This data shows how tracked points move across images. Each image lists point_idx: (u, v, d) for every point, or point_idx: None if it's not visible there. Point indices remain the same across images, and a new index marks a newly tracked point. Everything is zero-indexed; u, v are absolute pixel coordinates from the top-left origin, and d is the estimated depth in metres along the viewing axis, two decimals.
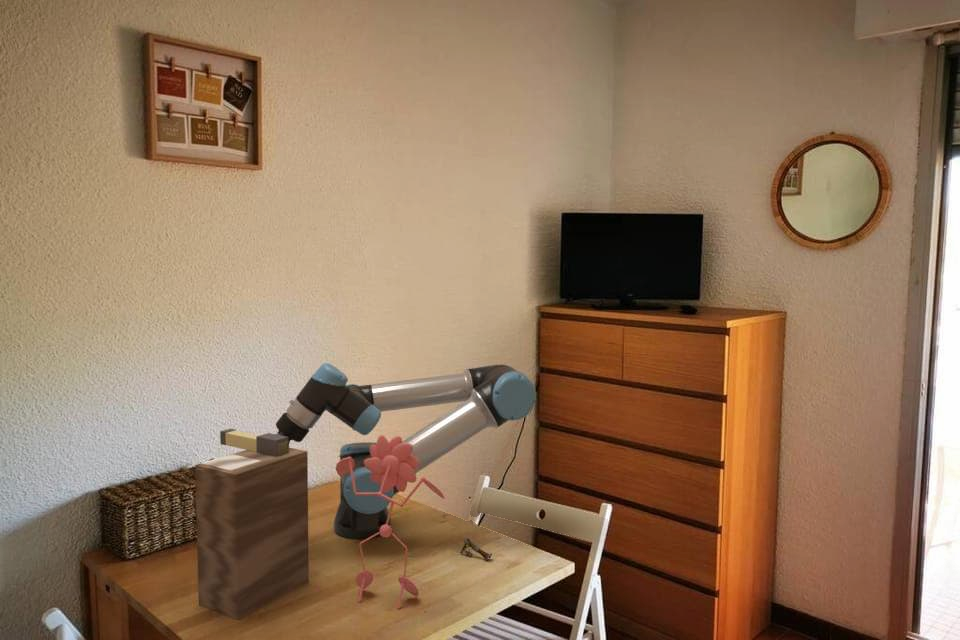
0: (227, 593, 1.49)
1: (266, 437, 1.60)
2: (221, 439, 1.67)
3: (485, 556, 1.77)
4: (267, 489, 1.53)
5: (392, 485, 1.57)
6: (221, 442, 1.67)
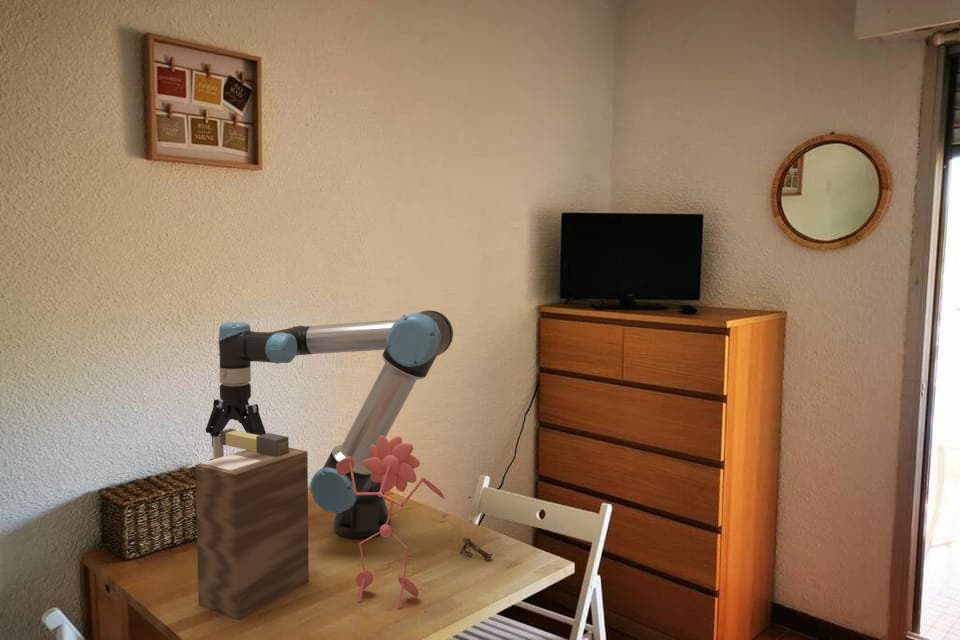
0: (227, 593, 1.49)
1: (266, 437, 1.60)
2: (221, 439, 1.67)
3: (485, 556, 1.77)
4: (267, 489, 1.53)
5: (392, 485, 1.57)
6: (221, 442, 1.67)
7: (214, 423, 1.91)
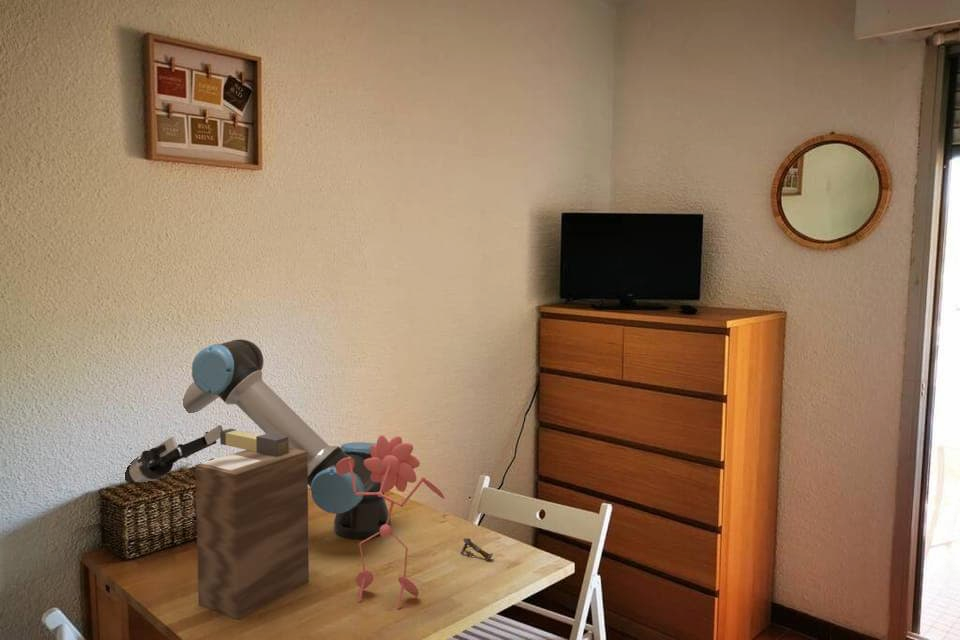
0: (227, 593, 1.49)
1: (266, 437, 1.60)
2: (221, 439, 1.67)
3: (486, 556, 1.77)
4: (267, 489, 1.53)
5: (392, 485, 1.57)
6: (221, 442, 1.67)
7: None
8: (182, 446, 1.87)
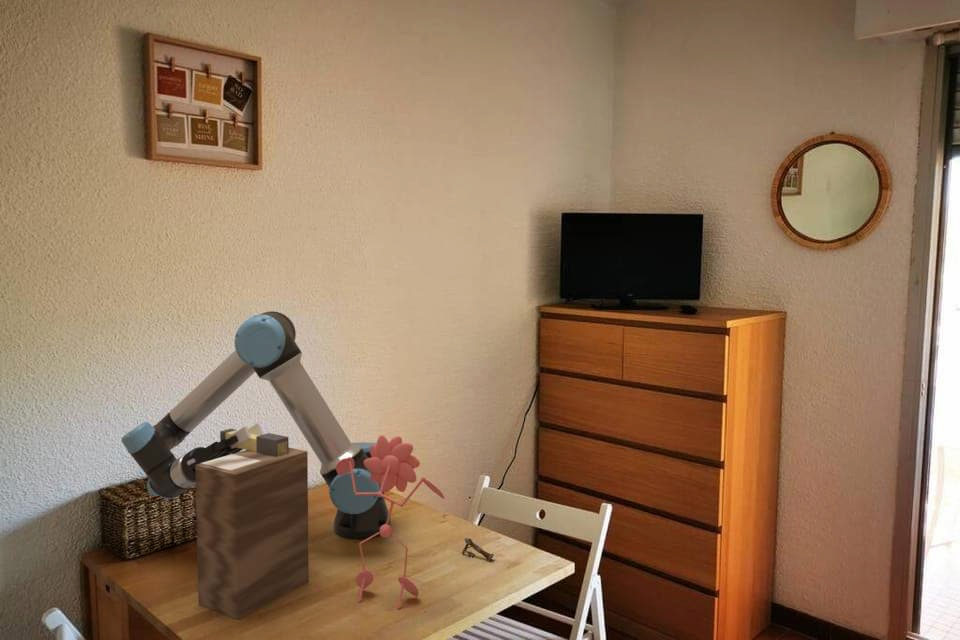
0: (227, 593, 1.49)
1: (266, 437, 1.59)
2: (221, 439, 1.67)
3: (487, 556, 1.77)
4: (267, 489, 1.53)
5: (392, 485, 1.57)
6: None
7: None
8: None
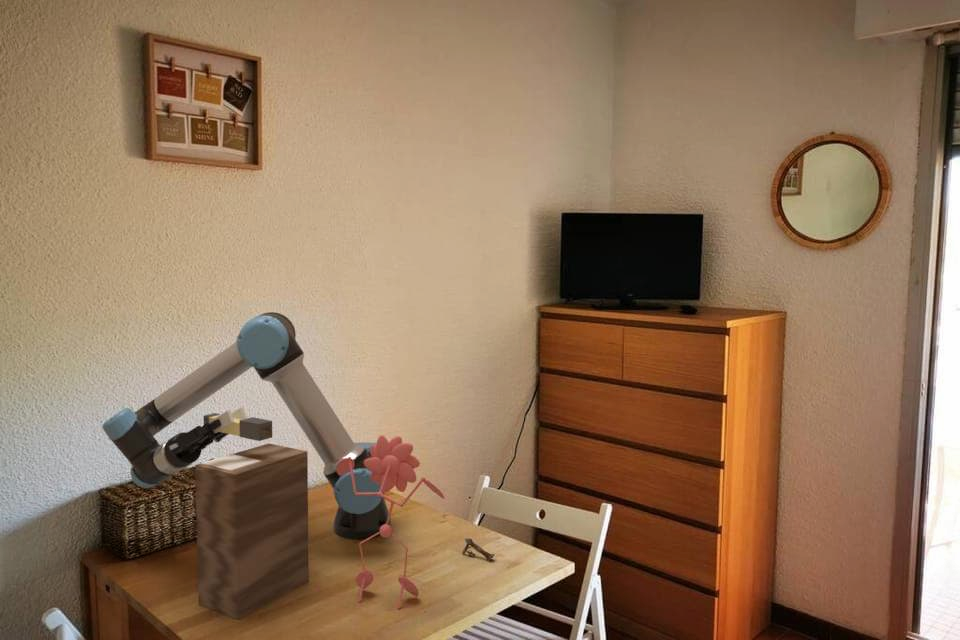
0: (227, 593, 1.49)
1: (249, 421, 1.56)
2: (204, 423, 1.63)
3: (487, 556, 1.77)
4: (267, 489, 1.53)
5: (392, 485, 1.57)
6: None
7: None
8: None
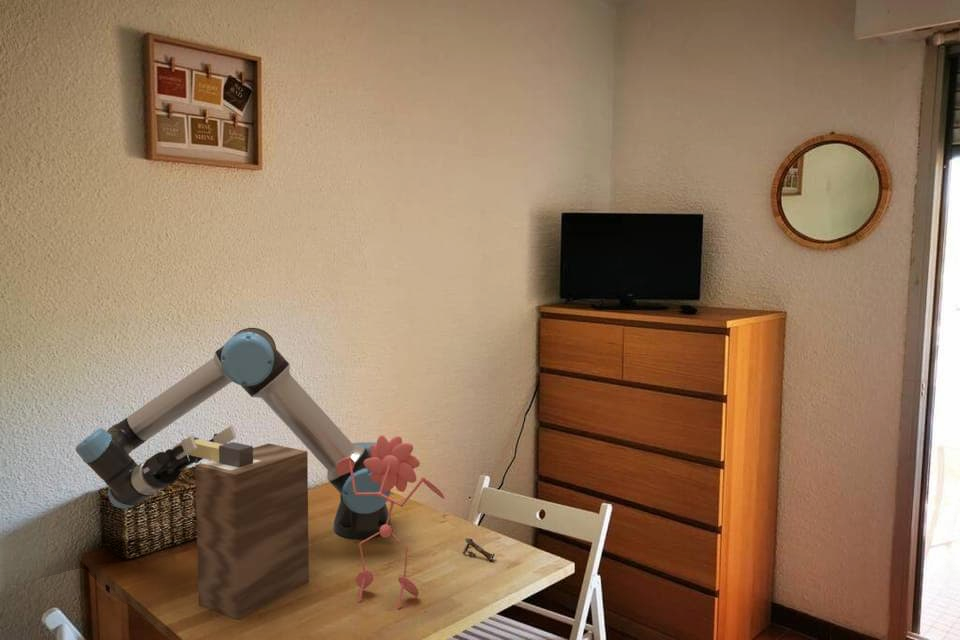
0: (227, 593, 1.49)
1: (229, 446, 1.51)
2: None
3: (488, 556, 1.77)
4: (267, 489, 1.53)
5: (392, 485, 1.57)
6: None
7: None
8: None
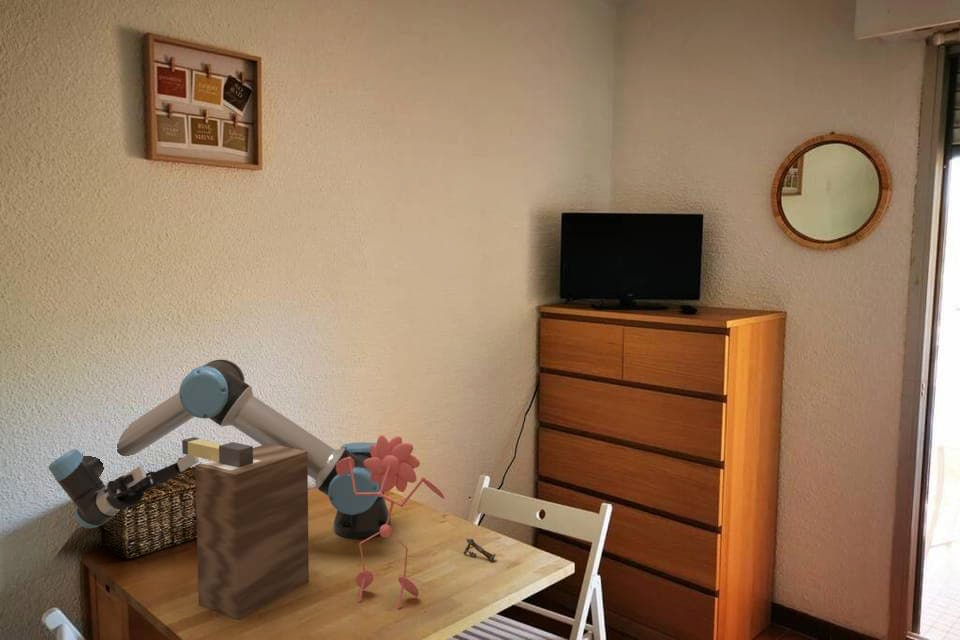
0: (227, 593, 1.49)
1: (229, 446, 1.51)
2: (183, 448, 1.58)
3: (489, 557, 1.77)
4: (267, 489, 1.53)
5: (392, 485, 1.57)
6: (183, 451, 1.58)
7: None
8: (153, 474, 1.73)
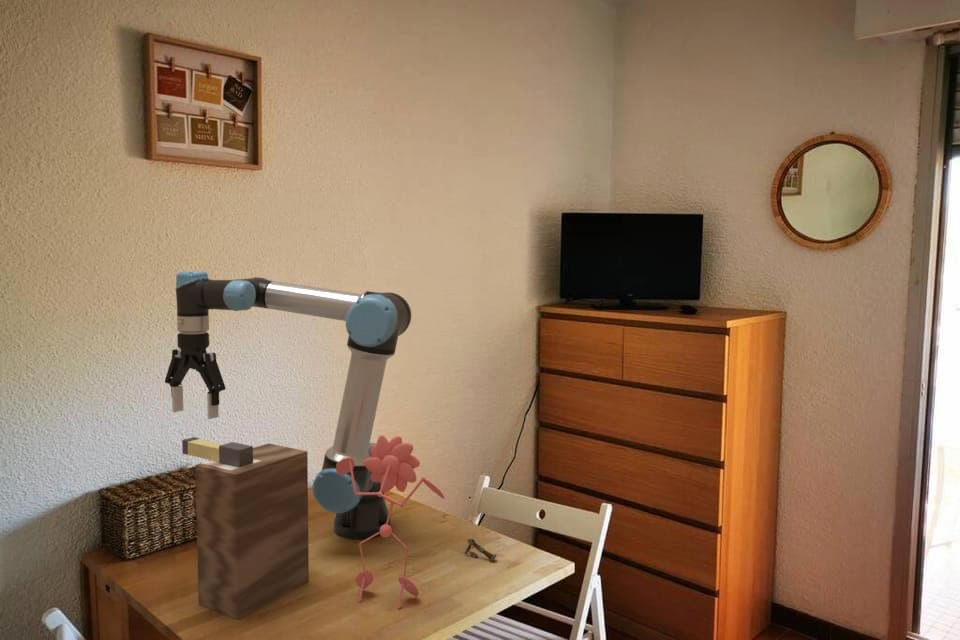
0: (227, 593, 1.49)
1: (229, 446, 1.51)
2: (183, 448, 1.58)
3: (489, 557, 1.77)
4: (267, 489, 1.53)
5: (392, 485, 1.57)
6: (183, 451, 1.58)
7: (173, 373, 1.91)
8: None
